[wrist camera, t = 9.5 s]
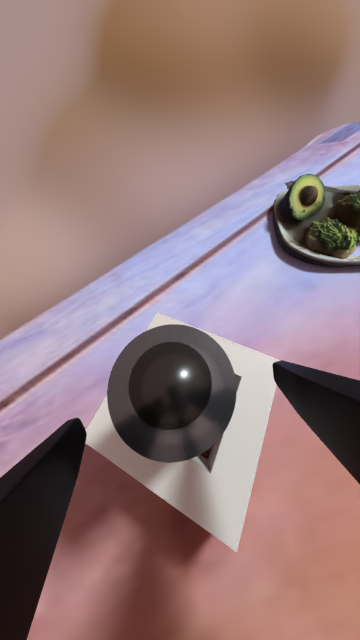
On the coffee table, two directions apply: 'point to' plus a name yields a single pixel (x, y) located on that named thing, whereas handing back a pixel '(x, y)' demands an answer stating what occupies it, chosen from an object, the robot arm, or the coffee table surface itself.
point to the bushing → (171, 393)
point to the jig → (225, 457)
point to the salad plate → (318, 221)
